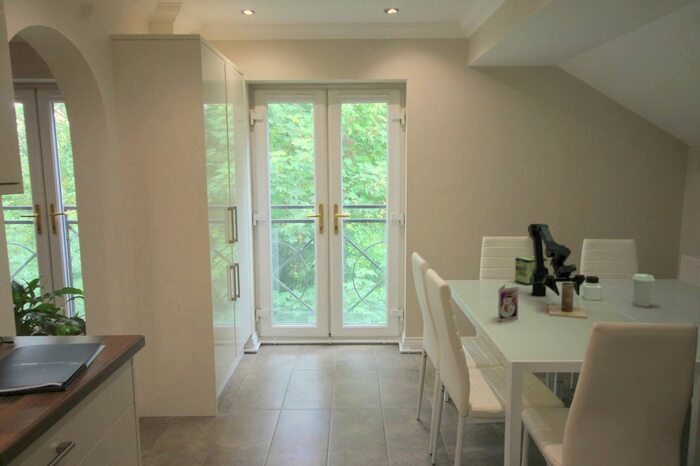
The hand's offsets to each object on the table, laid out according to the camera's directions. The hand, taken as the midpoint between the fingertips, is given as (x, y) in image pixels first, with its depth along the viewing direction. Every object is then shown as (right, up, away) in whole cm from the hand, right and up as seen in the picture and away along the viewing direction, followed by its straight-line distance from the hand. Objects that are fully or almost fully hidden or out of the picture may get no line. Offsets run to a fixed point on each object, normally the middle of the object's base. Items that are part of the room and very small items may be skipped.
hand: (568, 295), depth 218 cm
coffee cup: (+42, -7, +12) cm, 45 cm away
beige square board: (0, -8, +2) cm, 9 cm away
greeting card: (-33, -10, -6) cm, 35 cm away
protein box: (+8, -2, +66) cm, 66 cm away
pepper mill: (0, -8, +2) cm, 8 cm away
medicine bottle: (+25, -6, +27) cm, 37 cm away
